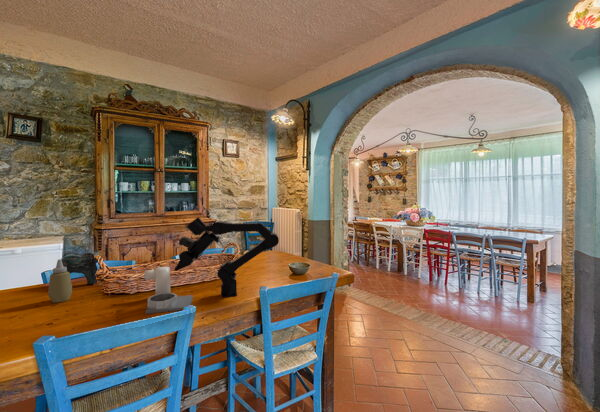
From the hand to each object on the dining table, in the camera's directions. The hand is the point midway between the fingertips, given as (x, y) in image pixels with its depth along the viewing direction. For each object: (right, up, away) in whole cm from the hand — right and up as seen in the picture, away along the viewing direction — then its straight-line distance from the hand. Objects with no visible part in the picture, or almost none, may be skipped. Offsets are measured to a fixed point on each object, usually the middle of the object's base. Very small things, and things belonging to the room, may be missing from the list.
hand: (178, 267), depth 127 cm
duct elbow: (-9, -13, -1) cm, 16 cm away
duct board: (+1, -13, -10) cm, 17 cm away
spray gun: (-59, -13, +17) cm, 63 cm away
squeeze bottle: (-49, -14, -5) cm, 51 cm away
